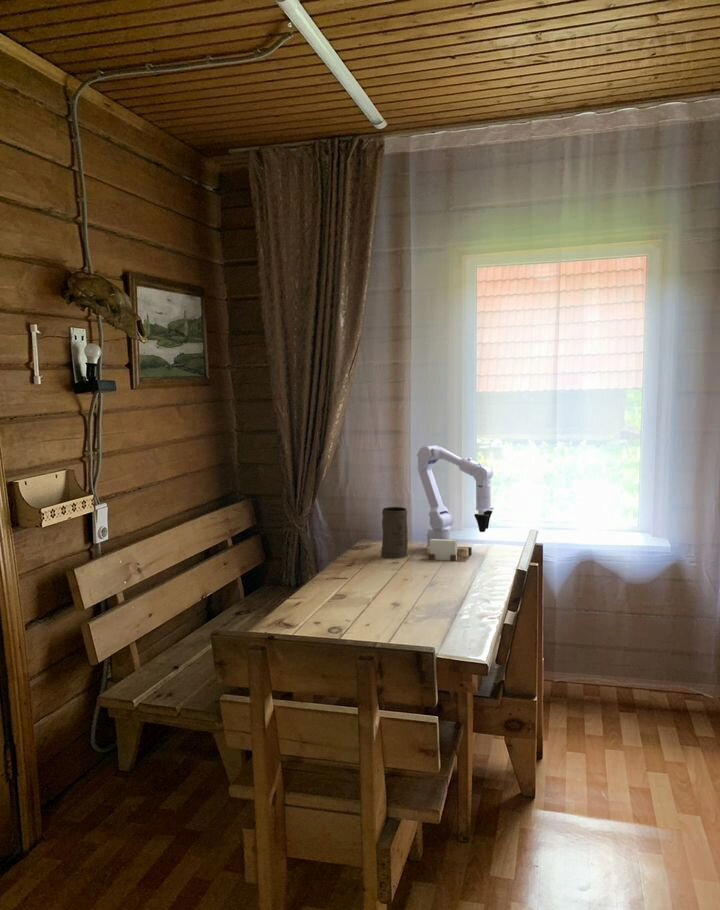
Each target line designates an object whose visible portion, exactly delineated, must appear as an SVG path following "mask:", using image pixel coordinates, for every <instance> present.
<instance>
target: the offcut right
mask: <svg viewBox="0 0 720 910" xmlns="http://www.w3.org/2000/svg"><path fill="white" fill-rule="evenodd" d="M460 547H461V546H457V553H458V557H467V556H468V555H469V553H468V548H460Z"/></svg>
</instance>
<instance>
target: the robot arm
mask: <svg viewBox="0 0 720 910" xmlns="http://www.w3.org/2000/svg"><path fill="white" fill-rule="evenodd" d="M416 456H417V471H418V474H419V477H420V480H421V484H422V487H423V489H424V492H425V495H426V498H427V501H428V505H429V508H430V510H429V512H428V516H429V525H430V528H432V529H428V530H427V535H426V536H427V537H426V539H427V540H426V541H427V543H426V544H427V545H426V547H427V546H430V540H431V539H447V540H452V539H451V537H452V536H451V533H452V532H451V528H452V527H451V526H452V525H453V523H454V517H453V515H452V514H451V512H450V511H449V508H448V507H447V506H445V505H444V503H443V499H442V497H441V494H440V490H439V488H438V485H437V481H436V479H435V475H434V474H433V470H432V469H433V467H434V466H435V464H436V463H437V462H438V461H439V460H444V461H447V462H448V463H451V464H453V465H456V466H457V467H458V468H459V470H460V471H461V472H463V473H465V474H467V475H468V476H471V477H473V479H474V480H475V502H476V503H475V510H476V511H477V513H475V514H474V515H473V516H474V518H475V520H476V522H477V526H478V531H479V532H480V533H485V532H486V530H487V529H489V525H490V520H491V516H492V515H493V510H494V509H495V508H494V507H493V506H492V501H491V499H492V497H491V496H492V494H491V491H492V490H491V489H492V488H491V483H492V482H491V479H492V477H493V475H494V472H493V468H491V467H490V466H489V465H486V464H485V465H483V463H481V462H477V461H475V460H473V458H472V457H471V456H470V457H464V458H461V457H460V456H458V455H456V454H454V453H452V452H451V451H449V450H447V449H446V448H444V447H442V446H439V445H436V444H434V445H428V446H427V445H425V446H422V447H420V448H419V450H418V452H417V454H416Z"/></svg>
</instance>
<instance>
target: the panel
mask: <svg viewBox="0 0 720 910" xmlns="http://www.w3.org/2000/svg"><path fill="white" fill-rule="evenodd" d="M457 543H458V540H457V539H451V540H447V539H431V540H430V554H434V558H435V560H450V555H456V560H457V547H458V544H457Z"/></svg>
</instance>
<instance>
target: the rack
mask: <svg viewBox="0 0 720 910" xmlns="http://www.w3.org/2000/svg"><path fill="white" fill-rule="evenodd" d="M427 547H429V546H427V545H426V548H427ZM459 547H460V548H468V553H469V555H468V556H467V557H458V553H457V560H456V555H450V560H435V558H434V554H429V555H427V553H425V554H424V555H423V556H422V557H421V558H419V561H425V562H427V561H428V562H448V563H449V562H450V563H451V562H452V563H454V562H455V563H466V562H467V561H468V560H469V559H470V558H471V556H472V553H473V552H472V551H473V550H472V546H459Z"/></svg>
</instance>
